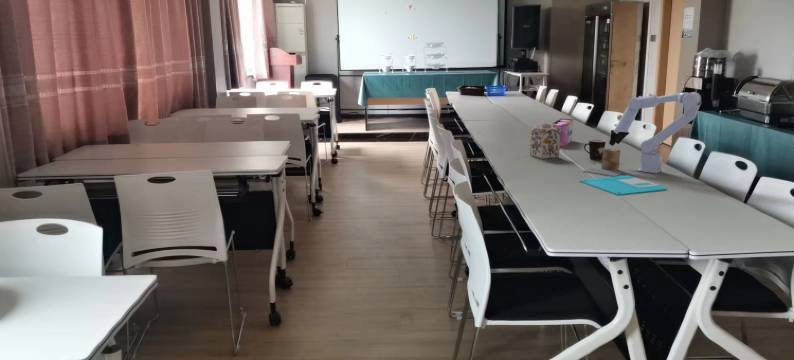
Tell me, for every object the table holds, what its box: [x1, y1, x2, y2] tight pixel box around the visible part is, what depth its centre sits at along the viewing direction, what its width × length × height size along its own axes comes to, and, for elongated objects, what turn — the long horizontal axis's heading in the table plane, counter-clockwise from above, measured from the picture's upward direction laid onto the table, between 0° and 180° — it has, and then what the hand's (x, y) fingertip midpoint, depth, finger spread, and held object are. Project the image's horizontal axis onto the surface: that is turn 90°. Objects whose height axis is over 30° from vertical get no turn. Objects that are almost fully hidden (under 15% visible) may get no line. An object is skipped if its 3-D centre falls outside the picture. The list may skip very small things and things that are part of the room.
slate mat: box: [582, 167, 624, 177], centre depth 299 cm, size 16×10×1 cm, turn 50°
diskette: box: [579, 175, 667, 196], centre depth 274 cm, size 26×28×1 cm
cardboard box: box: [601, 147, 621, 171], centre depth 304 cm, size 7×4×10 cm, turn 50°
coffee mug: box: [583, 138, 607, 161], centre depth 329 cm, size 12×9×10 cm
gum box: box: [552, 118, 574, 147], centre depth 374 cm, size 24×8×14 cm, turn 153°
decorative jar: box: [529, 122, 561, 160], centre depth 334 cm, size 12×12×18 cm
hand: (613, 144), depth 310 cm, fingers open, 7 cm apart
